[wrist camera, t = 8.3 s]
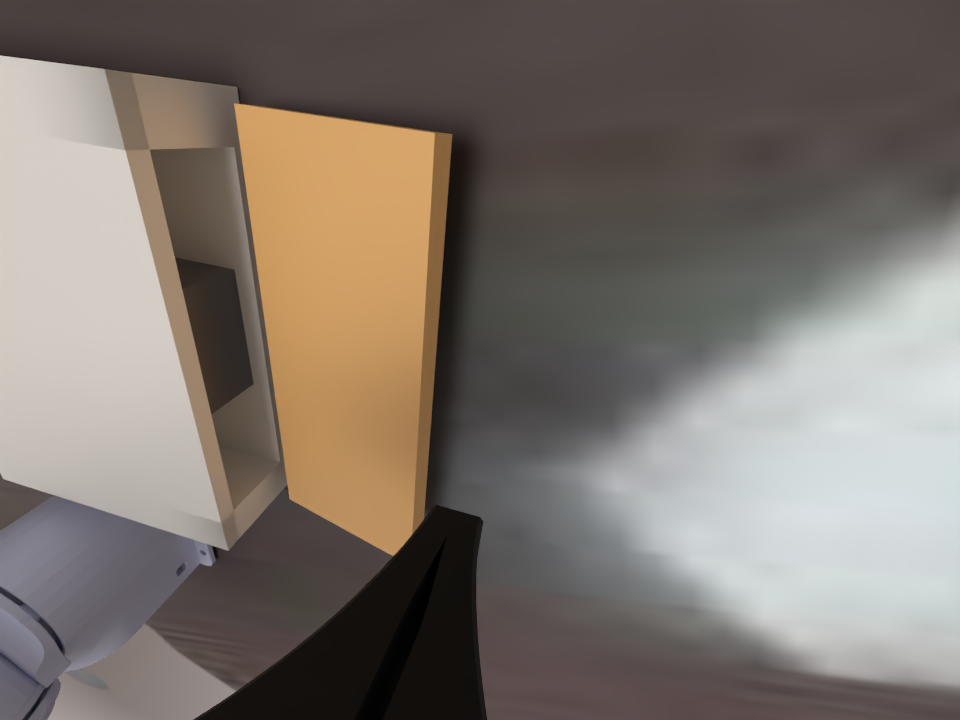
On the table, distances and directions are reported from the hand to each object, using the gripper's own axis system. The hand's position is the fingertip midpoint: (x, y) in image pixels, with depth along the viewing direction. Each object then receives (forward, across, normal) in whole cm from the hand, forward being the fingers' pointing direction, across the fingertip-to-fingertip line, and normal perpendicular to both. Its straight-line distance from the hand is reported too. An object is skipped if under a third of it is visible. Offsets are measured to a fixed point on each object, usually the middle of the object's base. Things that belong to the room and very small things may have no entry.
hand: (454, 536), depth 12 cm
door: (+8, +11, 0) cm, 13 cm away
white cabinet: (+8, +19, 0) cm, 21 cm away
